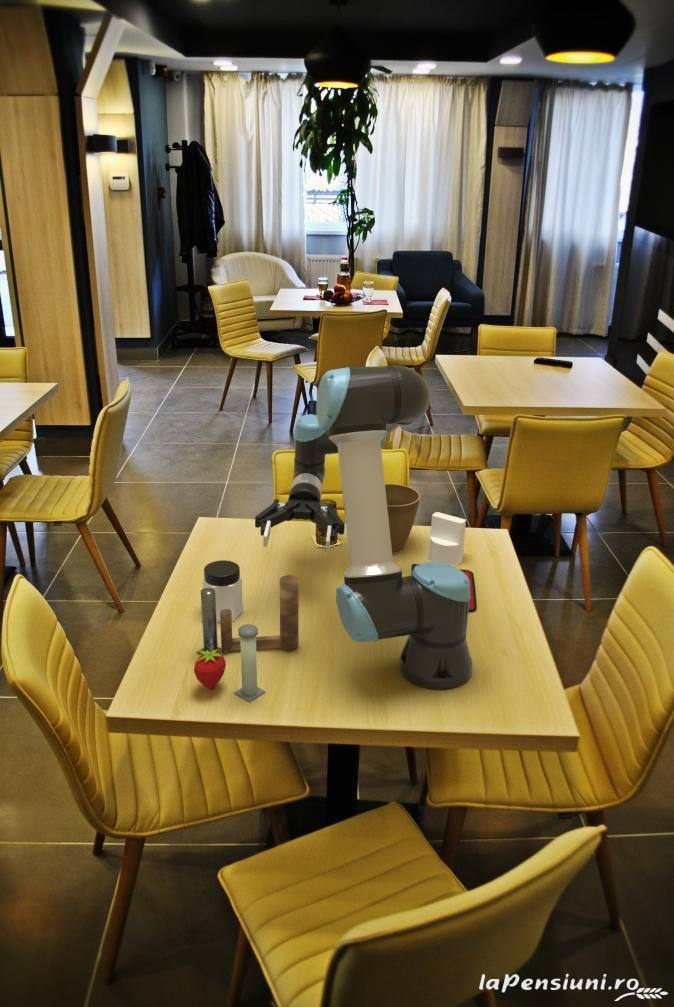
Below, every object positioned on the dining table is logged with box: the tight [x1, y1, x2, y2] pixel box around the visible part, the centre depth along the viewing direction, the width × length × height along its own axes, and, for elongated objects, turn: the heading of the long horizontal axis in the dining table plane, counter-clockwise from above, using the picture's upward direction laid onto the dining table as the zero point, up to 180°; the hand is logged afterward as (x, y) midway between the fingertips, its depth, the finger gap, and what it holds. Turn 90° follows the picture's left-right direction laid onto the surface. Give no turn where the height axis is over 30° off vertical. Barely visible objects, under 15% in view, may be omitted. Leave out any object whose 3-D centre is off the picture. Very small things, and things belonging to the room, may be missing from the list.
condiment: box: [315, 498, 339, 546], centre depth 233 cm, size 7×8×12 cm
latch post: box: [233, 623, 266, 703], centre depth 167 cm, size 4×4×15 cm
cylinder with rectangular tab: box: [428, 511, 467, 566], centre depth 224 cm, size 9×9×12 cm
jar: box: [202, 559, 244, 623], centre depth 196 cm, size 9×8×12 cm
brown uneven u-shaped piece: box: [219, 574, 300, 652], centre depth 181 cm, size 17×4×16 cm, turn 98°
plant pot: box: [385, 483, 421, 554], centre depth 228 cm, size 15×15×16 cm
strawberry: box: [193, 645, 227, 691], centre depth 169 cm, size 6×8×10 cm
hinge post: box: [195, 588, 226, 656], centre depth 180 cm, size 4×4×15 cm
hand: (296, 544), depth 184 cm, fingers open, 13 cm apart
